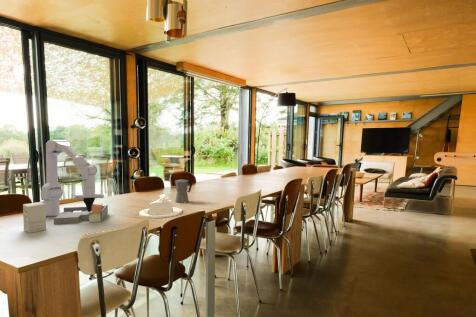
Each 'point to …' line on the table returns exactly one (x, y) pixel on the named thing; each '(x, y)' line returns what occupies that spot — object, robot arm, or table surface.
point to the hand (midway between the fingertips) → (89, 211)
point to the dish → (161, 208)
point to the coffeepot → (182, 190)
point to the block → (96, 208)
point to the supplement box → (34, 217)
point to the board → (80, 215)
